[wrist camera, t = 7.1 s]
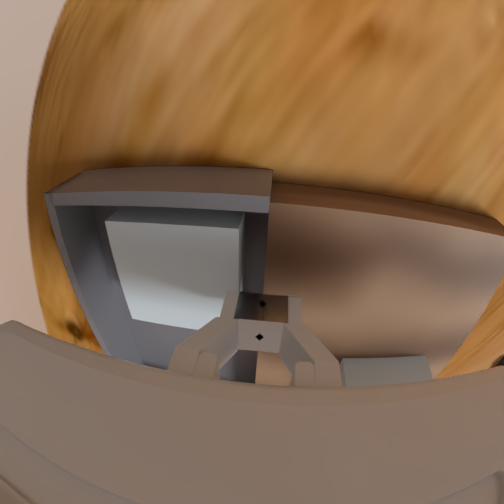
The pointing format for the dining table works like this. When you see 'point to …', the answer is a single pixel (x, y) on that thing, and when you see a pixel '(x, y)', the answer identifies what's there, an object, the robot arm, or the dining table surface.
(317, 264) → the board
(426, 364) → the tile
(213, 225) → the tile
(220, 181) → the tray
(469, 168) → the dining table surface
